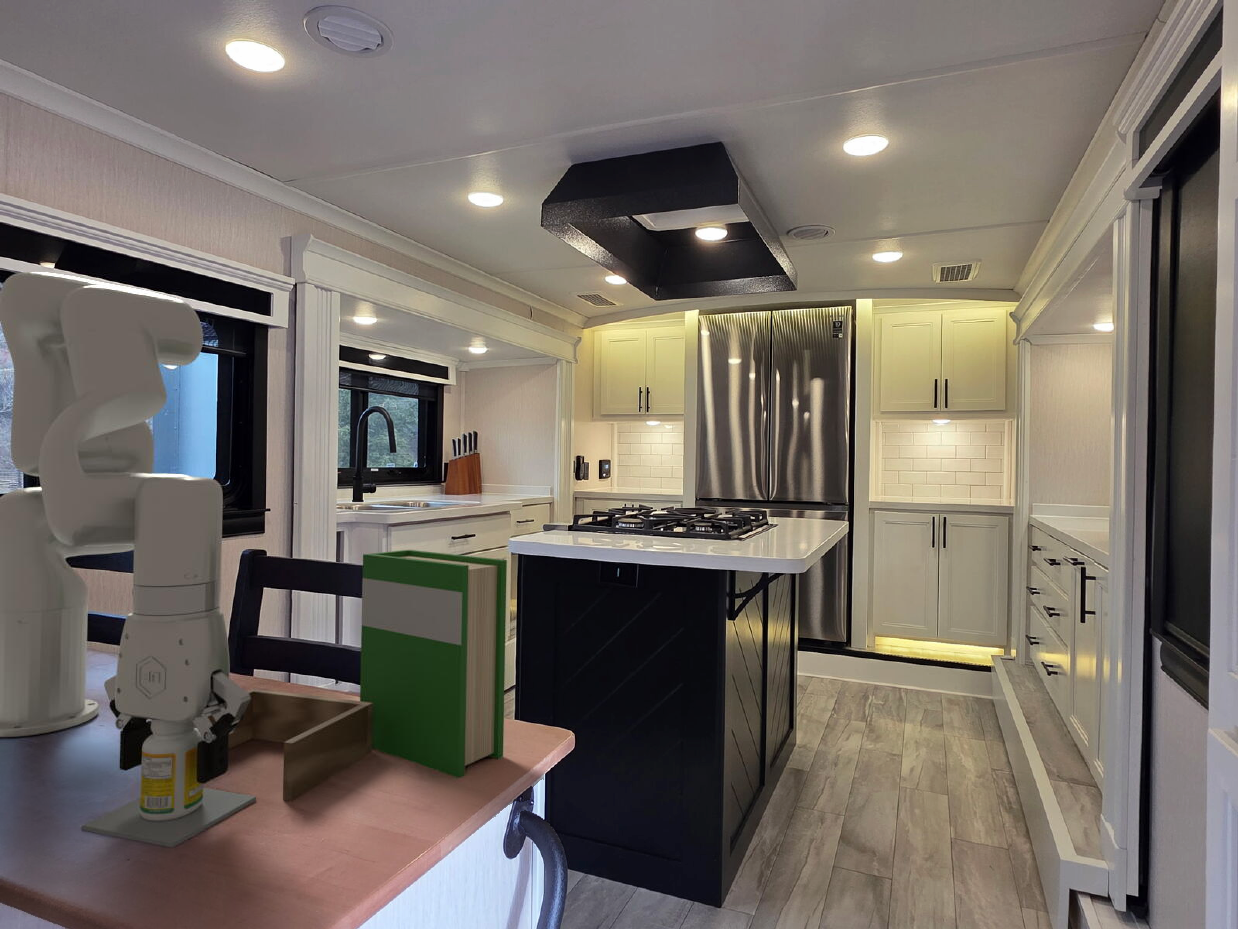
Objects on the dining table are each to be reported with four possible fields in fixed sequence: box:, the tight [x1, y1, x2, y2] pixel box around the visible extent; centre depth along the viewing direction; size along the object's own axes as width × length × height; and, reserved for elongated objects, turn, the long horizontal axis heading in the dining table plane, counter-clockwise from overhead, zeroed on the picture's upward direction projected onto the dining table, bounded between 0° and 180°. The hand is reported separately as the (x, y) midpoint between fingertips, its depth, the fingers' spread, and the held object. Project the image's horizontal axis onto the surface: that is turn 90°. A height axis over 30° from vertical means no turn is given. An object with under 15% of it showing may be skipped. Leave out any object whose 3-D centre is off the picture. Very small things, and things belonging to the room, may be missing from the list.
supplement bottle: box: [139, 719, 204, 821], centre depth 72 cm, size 5×5×10 cm
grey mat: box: [80, 787, 257, 849], centre depth 72 cm, size 11×10×1 cm
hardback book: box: [359, 549, 508, 778], centre depth 90 cm, size 18×7×24 cm, turn 57°
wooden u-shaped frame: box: [194, 688, 373, 802], centre depth 84 cm, size 18×14×6 cm
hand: (173, 771), depth 72 cm, fingers open, 9 cm apart
